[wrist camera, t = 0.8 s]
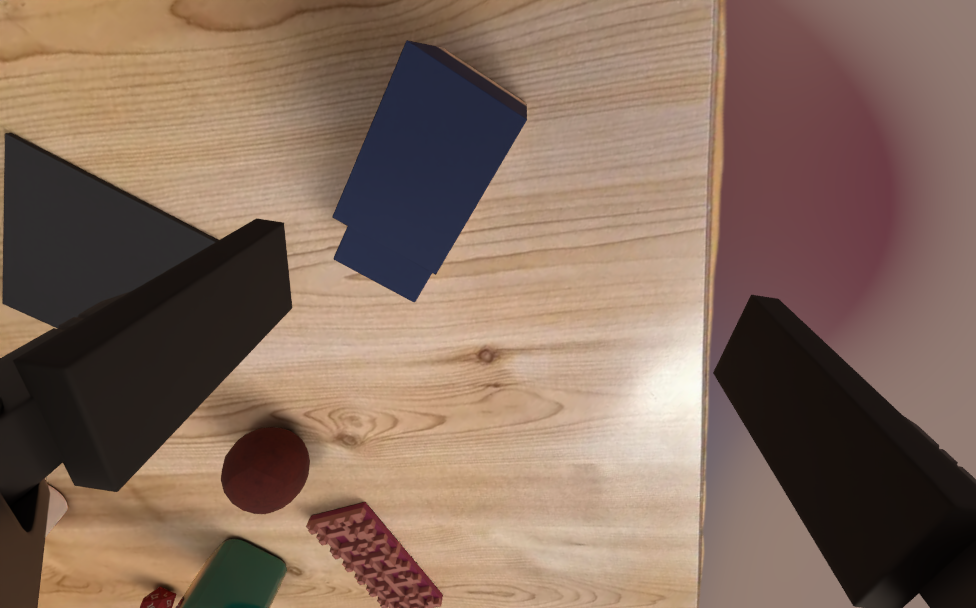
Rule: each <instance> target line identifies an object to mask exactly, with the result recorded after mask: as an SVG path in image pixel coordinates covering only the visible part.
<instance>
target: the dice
mask: <svg viewBox="0 0 976 608" xmlns="http://www.w3.org/2000/svg"><path fill="white" fill-rule="evenodd" d="M175 597H176V594H175V593H173V592H171V591H169V590H166V589H164V588H162V587H158V588H157V589H156V590H154V591H153V592H152V593H150V594H149V595H147V596H146V597H144V599H143V601H142V603H141V606H140V608H172V606H173V603H174V600H175Z"/></svg>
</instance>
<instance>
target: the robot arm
mask: <svg viewBox="0 0 976 608" xmlns="http://www.w3.org/2000/svg"><path fill="white" fill-rule="evenodd" d="M291 309H292V301H291V291H290V280H289V270H288V260H287V250H286V240H285V230H284V223H282V222H276V221H269V220H263V219H255V220H253V221H252V222H250V223H248V224H246V225H245V226H243V227H241V228H240V229H238V230H236V231H234V232H233V233H231V234H229V235H227V236H226V237H224V238H222V239H221V240H219V241H217V242H215V243H214V244H212V245H210V246H209V247H207V248H205V249H203V250H202V251H200V252H198V253H197V254H195V255H193V256H191V257H190V258H188V259H186V260H184V261H183V262H181V263H179V264H178V265H176V266H174V267H172V268H171V269H169V270H167V271H166V272H164V273H162V274H160V275H159V276H157V277H155V278H154V279H152V280H150V281H148V282H147V283H145V284H143V285H141V286H140V287H138V288H136V289H135V290H133V291H131V292H128V293H125V294H122V295H119V296H116V297H113V298H110V299H107V300H104V301H101V302H99V303H98V304H96V305H94V306H92V307H91V308H89V309H87V310H85V311H84V312H82V313H80V314H78V317H73V318H71V319H69V320H68V321H66V322H64V323H62V324H60V325H59V328H58V329H54V328H53V329H52V330H50V331H48V332H46V333H45V334H43V335H41V336H39V337H37V338H36V339H34V340H32V341H30V342H29V343H27V344H25V345H23V346H21V347H20V348H18V349H16V350H14V351H13V352H11V353H9V354H7V355H6V356H4V357H2V358H0V608H37V607H38V598H39V589H40V580H41V571H42V562H43V553H44V544H45V535H46V526H47V517H48V508H49V500H50V491H49V487H48V484H47V482H46V480H45V477H46V476H48V475H49V474H50V473H51V472H52V471H53V470H54V469H56V468H57V467H58V466H59V465H60V464H61V463H64V465H65V467H66V469H67V471H68V473H69V475H70V477H71V479H72V481H73V483H74V485H75V486H81V487H88V488H94V489H100V490H107V491H113V492H118V491H119V490H120V489H121V488H122V487H123V486H124V485H125V484H126V482H127V481H128V480H129V479H130V478H131V477H132V476H133V475H134V474H135V473H136V472H137V471H138V470H139V469H140V468H141V467H142V466H143V465H144V464H145V462H146V461H147V460H148V459H149V458H150V457H151V456H152V455H153V454H154V453H155V452H156V451H157V450H158V449H159V448H160V447H161V446H162V445H163V444H164V442H165V441H166V440H167V439H168V438H169V437H170V436H171V435H172V434H173V433H174V432H175V431H176V430H177V429H178V428H179V427H180V426H181V425H182V424H183V422H184V421H185V420H186V419H187V418H188V417H189V416H190V415H191V414H192V413H193V412H194V411H195V410H196V409H197V408H198V407H199V406H200V405H201V404H202V402H203V401H204V400H205V399H206V398H207V397H208V396H209V395H210V394H211V393H212V392H213V391H214V390H215V389H216V388H217V387H218V386H219V385H220V383H221V382H222V381H223V380H224V379H225V378H226V377H227V376H228V375H229V374H230V373H231V372H232V371H233V370H234V369H235V368H236V367H237V366H238V365H239V363H240V362H241V361H242V360H243V359H244V358H245V357H246V356H247V355H248V354H249V353H250V352H251V351H252V350H253V349H254V348H255V347H256V346H257V345H258V343H259V342H260V341H261V340H262V339H263V338H264V337H265V336H266V335H267V334H268V333H269V332H270V331H271V330H272V329H273V328H274V327H275V326H276V325H277V323H278V322H279V321H280V320H281V319H282V318H283V317H284V316H285V315H286V314H287V313H288V312H289V311H290V310H291ZM713 373H714V375H715V376H716V378H717V380H718V382H719V383H720V385H721V387H722V388H723V390H724V392H725V393H726V395H727V397H728V398H729V400H730V402H731V403H732V405H733V406H734V408H735V410H736V412H737V413H738V415H739V417H740V418H741V420H742V422H743V423H744V425H745V427H746V428H747V430H748V431H749V433H750V435H751V437H752V438H753V440H754V442H755V443H756V445H757V446H758V448H759V450H760V451H761V453H762V455H763V456H764V458H765V460H766V461H767V463H768V465H769V466H770V468H771V470H772V471H773V473H774V475H775V476H776V478H777V480H778V481H779V483H780V485H781V486H782V488H783V490H784V491H785V493H786V495H787V496H788V498H789V500H790V501H791V503H792V505H793V506H794V508H795V509H796V511H797V513H798V515H799V516H800V518H801V520H802V521H803V523H804V525H805V526H806V528H807V530H808V531H809V533H810V535H811V536H812V538H813V540H814V541H815V543H816V545H817V546H818V548H819V550H820V551H821V553H822V554H823V556H824V558H825V559H826V561H827V563H828V565H829V566H830V567H831V570H832V571H833V573H834V575H835V576H836V578H837V579H838V581H839V583H840V584H841V586H842V588H843V589H844V591H845V593H846V594H847V596H848V598H849V599H850V601H851V603H852V604H853V606H855V607H862V608H903V607H904V606H905V605H906V604H907V603H908V602H910V601H911V600H912V599H913V598H914V597H915V596H916V595H917V594H920V595H921V596H922V598H923V599H924V600H925V602H926V603H927V604H928V606H929V607H930V608H976V479H975V478H974V477H973V476H972V475H970V474H969V473H968V472H967V471H966V470H965V469H964V468H963V467H959V466H957V462H956V461H955V460H954V459H953V458H952V457H951V456H950V455H949V454H948V453H947V452H946V451H945V450H943V449H939V445H938V444H937V443H936V442H935V441H934V440H933V439H932V438H931V437H930V436H928V435H927V434H926V433H925V432H924V431H923V430H922V429H921V428H920V427H919V426H917V425H916V424H915V423H913V422H912V421H910V420H909V419H907V418H906V417H904V416H903V415H901V413H899V412H898V411H897V410H896V409H895V408H894V407H893V406H892V405H891V404H890V403H889V402H888V401H887V400H886V399H885V398H884V397H882V396H881V395H880V394H879V393H878V392H877V391H876V390H875V389H874V388H873V387H872V386H871V385H870V384H868V383H867V382H866V381H865V380H864V379H863V378H862V377H861V376H860V375H859V374H858V373H857V372H856V371H855V370H853V368H852V367H850V366H849V365H848V364H847V363H846V362H845V361H844V360H843V359H842V358H841V357H840V356H839V355H838V354H837V353H836V352H835V351H833V350H832V349H831V348H830V347H829V346H828V345H827V344H826V343H825V342H824V341H823V340H822V339H820V337H818V336H817V335H816V334H815V333H814V332H813V331H812V330H811V329H810V328H809V327H808V326H807V325H806V324H805V323H803V321H801V320H800V319H799V318H798V317H797V316H796V315H795V314H794V313H793V312H792V311H791V310H790V309H789V308H788V307H787V306H786V305H784V304H783V303H782V302H781V301H780V300H779V299H775V298H769V297H763V296H756V295H751V296H750V298H749V300H748V302H747V304H746V306H745V309H744V311H743V313H742V315H741V317H740V319H739V321H738V323H737V325H736V327H735V329H734V331H733V333H732V335H731V337H730V340H729V342H728V344H727V346H726V348H725V350H724V352H723V354H722V356H721V358H720V360H719V362H718V364H717V366H716V368H715V370H714V372H713Z"/></svg>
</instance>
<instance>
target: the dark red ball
mask: <svg viewBox="0 0 976 608" xmlns="http://www.w3.org/2000/svg"><path fill="white" fill-rule="evenodd" d="M309 464H310V460H309V453H308V450H307V448H306V446H305V444H304V442H303V441H302V440H301V439H300V437H299V436H297V435H296V434H294V433H293V432H291V431H289V430H286V429H283V428H276V427H268V428H259V429H257V430H255V431H252V432H250V433H248V434H245V435H244V436H243V437H242V438H240V439H239V440H238V441H237V442H236V443H235V444H234V446H233V447H232V448H231V449H230V451H229V452H228V454H227V455H226V456H225V460H224V464H223V468H222V475H221V482H222V486H223V490H224V493H225V494H226V496H227V497H228V498H229V500H230V501H231V502H232V503H233V504H234V505H236V506H237V507H239V508H240V509H242V510H243V511H247V512H251V513H254V514H267V513H271V512H274V511H276V510H279V509H281V508H283V507H285V506H286V505H287V504H289V503H290V502H291V501H292V500H293V499H294V498H295V497H296V496H297V495H298V494H299V493H300V491H301V490H302V488H303V487H304V485H305V482H306V480H307V477H308V473H309Z"/></svg>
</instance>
